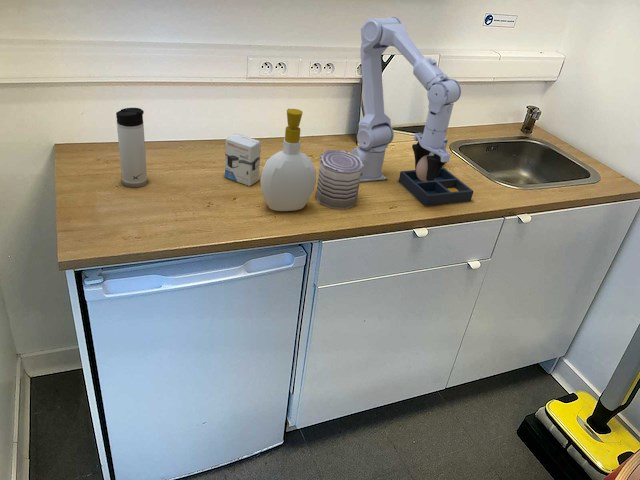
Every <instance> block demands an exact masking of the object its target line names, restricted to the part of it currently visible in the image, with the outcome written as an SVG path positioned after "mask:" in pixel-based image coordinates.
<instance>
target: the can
mask: <svg viewBox="0 0 640 480" xmlns="http://www.w3.org/2000/svg"><path fill="white" fill-rule="evenodd" d="M319 159H320V161H319V169H318V175H317V184H316V185H317V186H316V193H315V199H316V200H317V201H318V203H319V204H320V205H322V206H324V207H327V208H329V209H333V210H347V209H350V208H353V207H355V205H356V203H357V201H358V195H359V189H360V184H361V182H360V178H361V172H362V167H363V166H364V164H363V162H362V161H361V159H360V158H359V157H358V156H356V155H354V154H351V152H349V151H346V150H342V149H341V150H338V149H337V150H336V149H327V150H325V151H324V152H323V153H322V154H320V155H319Z"/></svg>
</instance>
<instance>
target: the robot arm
mask: <svg viewBox="0 0 640 480" xmlns="http://www.w3.org/2000/svg"><path fill="white" fill-rule="evenodd" d="M360 37H361V43H360V51H359V53H360V65H361V78H362V92H363V93H362V94H363V105H364V107H363V108H364V116H363V117H362V118H361V120H360V121H359V122H358V123H357V125H358V130H357V135H356V141H357V144H358V145H359V146H358V147H354V148H352V149H351V151H350V153H351V154H354V155H356V156H358V157H359V158H360V159H361V161H362V162H363V164H364V166H363V167H362V172H361V178H360V183H362V182H372V181H373V182H374V181H383V180H387V177H386V176H385V175H384V174H383V173H382V171H383V165H384V161H385V155H386V150H387V149H388V148H389V147H388V146H389V145H390V144H391V143H392V142H393V140H394V137H395V132H394V129H393V126H392V122H391V118H390V117H389V116H388V115H387V114H386V112H385V102H384V87H383V86H384V85H383V70H382V69H383V67H382V55H383V54H384V53H385V51H386V50H387V49H389V47H393V48H395V49H397V51H398V52H399V53H400V55H402V57H404V59H405V60H406V61H407V62H408V63H409V64H410V65H411V66H412V67H413V69H412V74H413V76H414V77H415V78H416V79H417V80H418V82H419V83H420V84H421V86H423V88H424V89H425V90H426V91H427V93H426V96H427V100H428V106H427V108H428V109H427V116H426V120H425V124H424V128H423V131H422V132H414V136H413V140H414V141H415V142H417V143H414V144H412V145H411V148H412V151H413V154H414V167H415V168H414V170H416V166H417V164H418V162H419V160H420V159H421V158H422V157H424V156H426V155H429V154H430V152H432V153H434V156H427V162H428V169H427V176H426V180H427V181H433V180H434V179H435V178H436V176H437V174H438V172H439V171H440V169H441V168H444V166H445V165H446V164H447V163H449V162H450V160H451V154H450V153H449V151H448V150H447V146H446V143H444V140H445V138H446V136H447V132H448V128H449V125H450V120H451V117H452V112H453V108H454V104H455V103H456V102H458V101H459V99H460V98H461V96H462V88H461V85H460V84H459V82H458V80H457V79H454V78H450V77H449V76H448V74H446V73H444V71H443V70H442V69H441V68H440V67H439V65H438V61H437V60H436V59H435V58H431V57H425V56H424V55H423V54H422V52H421V50H420V49H419V48H418V46H417V45H416V43H415V42H414V41H413V39H412V38H411V37H410V35H409V33H408V32H407V26H406V25H405V24H404V23H403V21H401V19H400V18H399V17H397V16H390V17H380V18H379V17H378V18H376V17H375V18H374V17H370V18H368V19H367V20H366V21H365V23H363V25H362V26H361V28H360ZM445 147H446V148H445Z"/></svg>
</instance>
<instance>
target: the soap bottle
mask: <svg viewBox="0 0 640 480" xmlns="http://www.w3.org/2000/svg"><path fill="white" fill-rule="evenodd" d="M302 116H303V111H302V110H301V109H298V108H287V109H286V117H287V118H286V119H287V126H285V130H284V131H285V133H284V138H283V141H282V142H283V143H282V150H280V151H278V152H275V153H274V154H272V155H271V156H270V157H269V158H268V159H267V161H266V162H265V164H264V166H263V167H262V170H261V176H260V179H259V181H260V192H261V195H262V197H263V200H264V202H265V203H266V205H267V207H268V208H269V209H270V210H272V211H276V212H292V211H293V212H295V211H299V210H302V209H303V208H305V206H306V205H307V203H308V202H309V200H310V199H311V196H312V195H313V193H314V190H315V187H316V183H317V171H316V168H315V165H314V162H313V160H312V159H311V158H309V156H307V154H306V153H304V152H301V150H300V149H301V142H302V141H301V139H300V138H301V128H300V124H301V120H302Z"/></svg>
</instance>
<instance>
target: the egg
mask: <svg viewBox="0 0 640 480" xmlns="http://www.w3.org/2000/svg"><path fill="white" fill-rule="evenodd" d="M427 156H430V155H426V156H424V157H422V158H421V159H420V160H419V162H418V164H417V166H416V175H417V177H418V178H419V179H420V180H421V181H427V180H426V176H427V169H428V162H427Z"/></svg>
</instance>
